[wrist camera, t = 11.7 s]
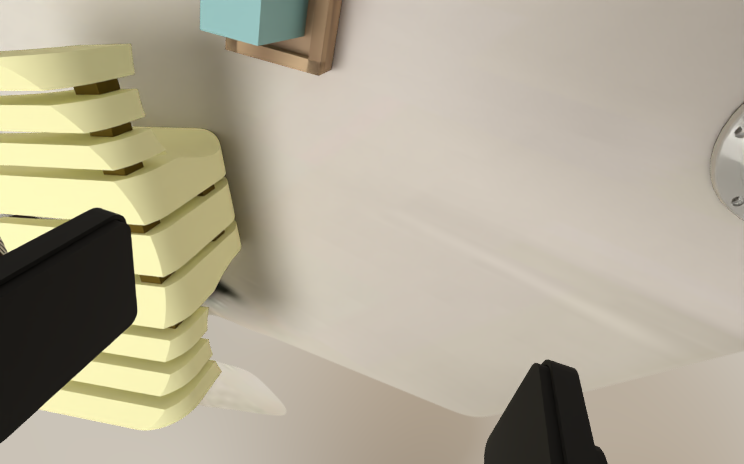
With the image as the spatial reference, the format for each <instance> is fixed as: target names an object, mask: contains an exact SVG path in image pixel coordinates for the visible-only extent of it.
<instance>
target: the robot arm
mask: <svg viewBox="0 0 744 464" xmlns="http://www.w3.org/2000/svg"><path fill="white" fill-rule="evenodd" d="M738 127H739V130H738V131H736V132H735V130H736V129H737V128H738ZM710 176H711V181H712V185H713V189H714V190H715V192H716V194H717V196H718V198H719V200H720V201H721V202H722V203H723V204H724V205H725V206H726V207H727V208H728V209H729V210H730V211H731V212H732V213H734V214H735V215H736V216H737V217H739V218H740V219H742V220H744V103H743V104H742V106H741V107H740V108H739V109H738V110H737V111H736V112H735V113H734V114H733V115H732V116H731V118H730V119H729V120H728V122H727V123H726V125H725V126H724V127H723V129H722V130H721V133H720V135H719V137H718V139H717V141H716V143H715V145H714V149H713V153H712V157H711V161H710ZM733 198H734V199H733ZM137 310H138V309H137V297H136V285H135V273H134V261H133V249H132V237H131V229H130V226H129V225H128V224H127V223H126V219H125V218H124V216H122V215H120V214H117V213H114V212H111V211H108V210H105V209H102V208H92V209H90V210H88V211H86V212H84V213H82V214H80V215H78V216H76V217H75V218H73V219H71V220H69V221H67V222H65V223H63V224H61V225H59V226H57V227H56V228H54V229H52V230H50V231H48V232H46V233H44V234H42V235H40V236H38V237H37V238H35V239H33V240H31V241H29V242H27V243H25V244H23V245H21V246H19V247H18V248H16V249H14V250H12V251H10V252H8V253H6V254H4V255H2V256H0V443H1V442H2V441H4V440H5V439H6V438H7V437H9V436H10V435H11V434H12V433H13V432H14V431H15V430H16V429H17V428H18V427H20V426H21V425H22V424H23V423H24V422H25V421H26V420H27V419H28V418H30V417H31V416H32V415H33V414H34V413H35V412H36V411H37V410H38V409H39V408H41V407H42V406H43V405H44V404H45V403H46V402H47V401H48V400H49V399H50V398H52V397H53V396H54V395H55V394H56V393H57V392H58V391H59V390H60V389H61V388H63V387H64V386H65V385H66V384H67V383H68V382H69V381H70V380H71V379H72V378H74V377H75V376H76V375H77V374H78V373H79V372H80V371H81V370H82V369H83V368H85V367H86V366H87V365H88V364H89V363H90V362H91V361H92V360H93V359H95V358H96V357H97V356H98V355H99V354H100V353H101V352H102V351H103V350H104V349H106V348H107V347H108V346H109V345H110V344H111V343H112V342H113V341H114V340H115V339H117V338H118V337H119V336H120V335H121V334H122V333H123V332H124V331H125V330H126V329H128V328H129V327H130V326H131V325H132V323H133V322H134V320H135V318H136V316H137ZM484 464H607V461H606V457H605V455H604V453H603V451H602V450H601V449H600V447H597V446H595V445H594V441H593V436H592V432H591V427H590V423H589V419H588V414H587V410H586V406H585V402H584V397H583V393H582V388H581V384H580V380H579V375H578V373H577V370H576V369H575V368H572V367H569V366H566V365H563V364H560V363H557V362H554V361H551V360H545V361H544V362H543V363H542V364H538V363H534V364H533V365H532V366H531V368H530V370H529V371H528V373H527V375H526V376H525V378H524V380H523V381H522V383H521V385H520V386H519V388H518V390H517V391H516V393H515V395H514V396H513V398H512V400H511V401H510V403H509V405H508V406H507V408H506V410H505V411H504V413H503V415H502V416H501V418H500V420H499V421H498V423H497V425H496V426H495V428H494V430H493V432H492V433H491V435H490V436H489V438H488V441H487V443H486V447H485V454H484Z"/></svg>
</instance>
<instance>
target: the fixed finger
mask: <svg viewBox="0 0 744 464" xmlns="http://www.w3.org/2000/svg"><path fill="white" fill-rule="evenodd" d="M308 1H309V0H200V30H202V31H206V32H209V33H213V34H217V35H220V36H224V37H227V38H231V39H235V40H238V41H242V42H245V43H249V44H253V45H256V46H260V45H265V44H270V43H274V42H279V41H284V40H289V39H293V38H298V37H303V36H304V34H305V25H306V17H307V9H308Z"/></svg>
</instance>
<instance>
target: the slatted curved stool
mask: <svg viewBox="0 0 744 464" xmlns="http://www.w3.org/2000/svg"><path fill="white" fill-rule="evenodd" d="M134 74H135V73H134V66H133V58H132V47H131V44H105V45H75V46H65V47H54V48H42V49H29V50H14V51H0V91H45V90H53V89H61V88H69V87H74V90H69V91H61V92H52V93H41V94H27V95H9V96H0V131H17V132H41V133H0V214H12V215H24V216H36V217H48V218H61V219H32V218H15V217H2V218H0V237H1V239H2V241H3V243H4V245H5V248H6V250H7V252H10V251H12V250H14V249H16V248H18V247H19V246H21V245H23V244H25V243H27V242H29V241H31V240H33V239H35V238H37V237H38V236H40V235H42V234H44V233H46V232H48V231H50V230H52V229H54V228H56V227H57V226H59V225H61V224H63V223H65V222H67V221H69V220H71V219H73V218H75V217H76V216H78V215H80V214H82V213H84V212H86V211H88V210H90V209H92V208H102V209H105V210H108V211H111V212H114V213H117V214H120V215H122V216H124V218H125V219H126V223H127V224H128V225H129V226H130V229H131V237H132V249H133V261H134V273H135V285H136V297H137V309H138V310H137V316H136V318H135V320H134V322H133V323H132V325H131V326H130V327H129V328H128V329H126V330H125V331H124V332H123V333H122V334H121V335H120V336H119V337H118V338H117V339H115V340H114V341H113V342H112V343H111V344H110V345H109V346H108V347H107V348H106V349H104V350H103V351H102V352H101V353H100V354H99V355H98V356H97V357H96V358H95V359H93V360H92V361H91V362H90V363H89V364H88V365H87V366H86V367H85V368H83V369H82V370H81V371H80V372H79V373H78V374H77V375H76V376H75V377H74V378H72V379H71V380H70V381H69V382H68V383H67V384H66V385H65V386H64V387H63V388H61V389H60V390H59V391H58V392H57V393H56V394H55V395H54V396H53V397H52V398H50V399H49V400H48V401H47V402H46V403H45V404H44V405H43V406H42V407H41V408H39V410H44V411H49V412H54V413H59V414H64V415H68V416H73V417H78V418H83V419H88V420H93V421H98V422H102V423H108V424H112V425H117V426H122V427H127V428H132V429H136V430H154V429H160V428H162V427H166V426H168V425H171V424H173V423H175V422H177V421H179V420H180V419H182V418H184V417H185V416H186V415H188V414H189V413H190V412H191V411H192V410H194V409H195V408H196V406H197V405H198V404H199V403H200V402H201V400H202V399H203V397H204V396H205V395H206V393H207V392H208V390H209V389H210V387H211V386H212V385H213V383H214V382H215V380H216V379H217V378H218V376H219V375H220V373H221V372H222V371H221V370H220V368H219V367H218V365H217V363H216V361H213V360H209V359H210V357H211V356H212V351H211V348H210V344H209V339H203V338H201V337H202V336H203V335H204V334H205V332H206V331H207V317H208V309H209V307H201V305H202V304H203V303H204V302H205V301H206V299H207V298H208V297H209V296H210V295H211V294H212V293H213V292H214V291H215V289H216V287H217V285H218V283H219V281H220V279H221V277H222V275H223V274H224V272H225V270H226V269H227V267H228V265H229V264H230V262H231V261H232V259H233V258H234V257H235V256H236V255H237V253H238V252H239V251H240V249H241V242H240V238H239V233H238V228H237V223H236V221H235V220H234V218H235V214H234V209H233V204H232V199H231V194H230V190H229V185H228V180H227V179H226V178H225V177H224V176H225V174H226V170H225V166H224V161H223V156H222V151H221V146H220V142H219V140H218V138H217V137H216V136H215V135H214V134H213V133H212V132H210V131H208V130H206V129H201V128H166V127H132V126H131V123H130V122H131V121H134V120H137V119H139V118H142V117H145V113H144V110H143V107H142V104H141V101H140V97H139V93H138V89H120V86H119V83H118V79H117V78H120V77H125V76H130V75H134ZM13 165H14V166H13Z"/></svg>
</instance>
